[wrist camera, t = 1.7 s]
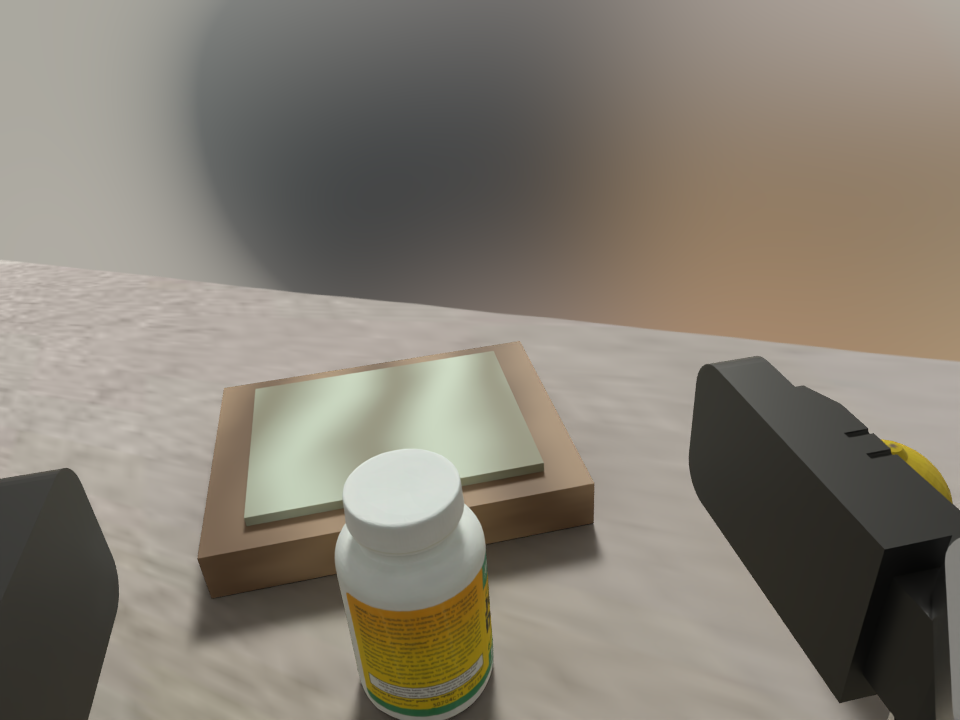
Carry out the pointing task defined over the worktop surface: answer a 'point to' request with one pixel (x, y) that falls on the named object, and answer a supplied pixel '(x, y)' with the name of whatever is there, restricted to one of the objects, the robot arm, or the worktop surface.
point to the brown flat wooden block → (375, 430)
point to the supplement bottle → (415, 586)
